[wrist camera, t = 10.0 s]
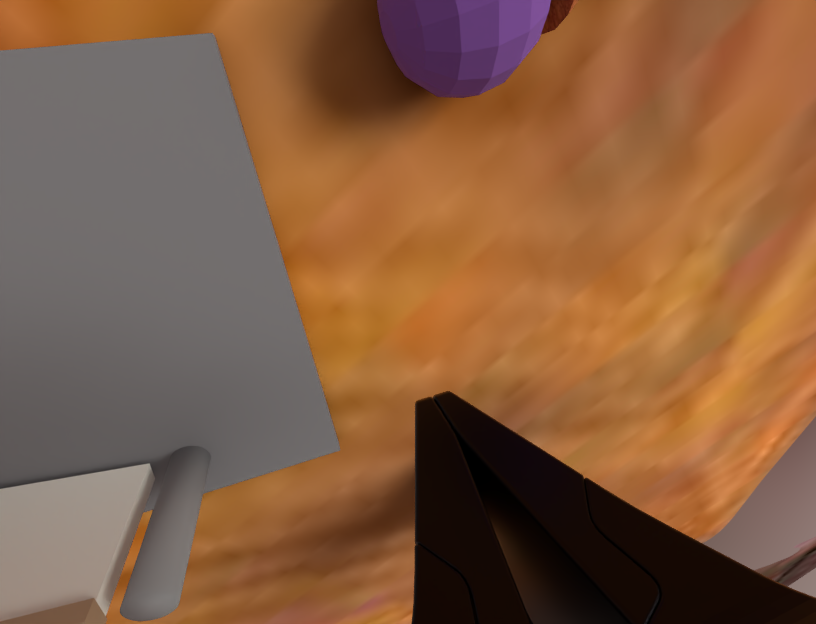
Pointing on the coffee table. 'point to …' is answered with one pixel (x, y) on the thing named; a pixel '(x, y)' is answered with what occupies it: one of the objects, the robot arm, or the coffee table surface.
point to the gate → (68, 544)
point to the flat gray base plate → (144, 290)
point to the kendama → (465, 39)
